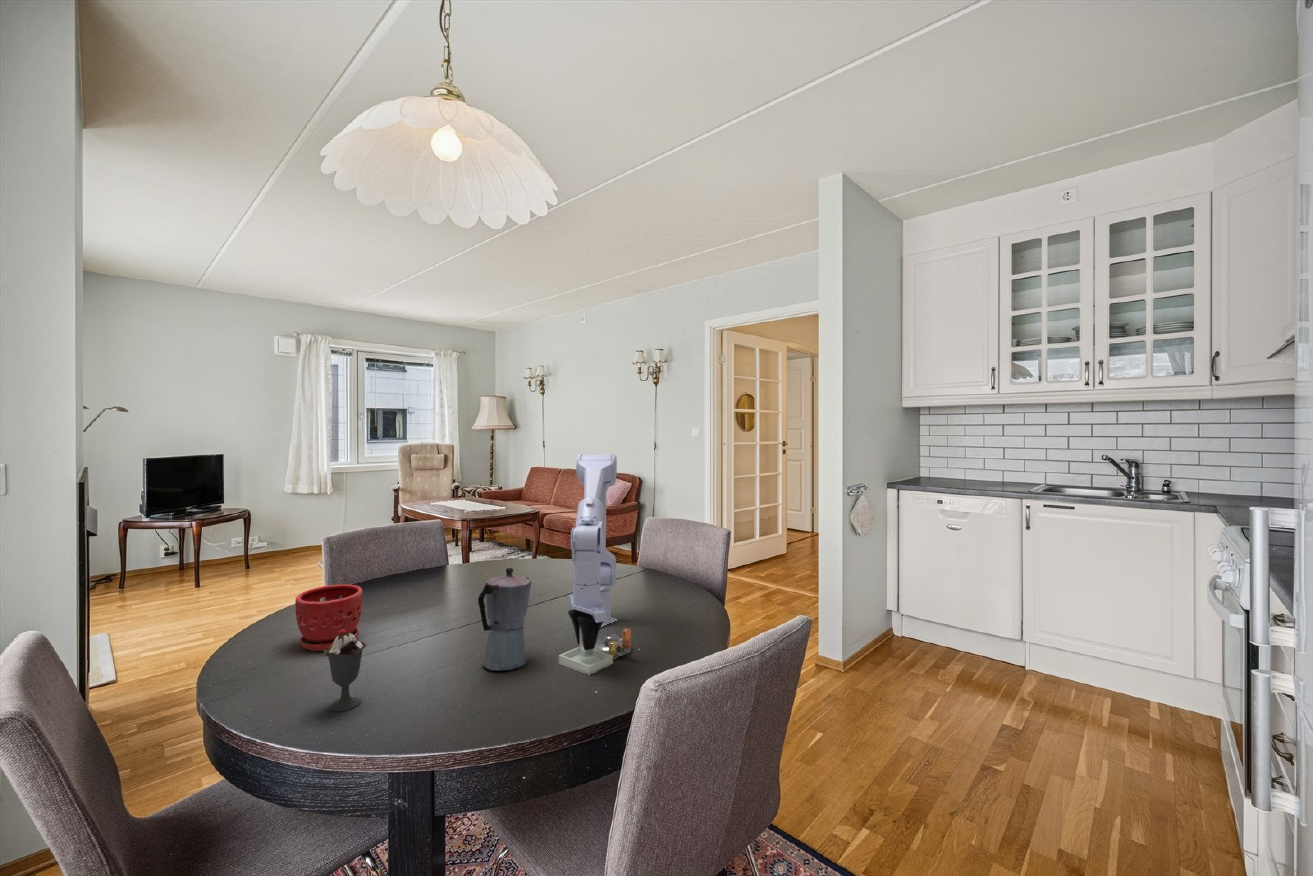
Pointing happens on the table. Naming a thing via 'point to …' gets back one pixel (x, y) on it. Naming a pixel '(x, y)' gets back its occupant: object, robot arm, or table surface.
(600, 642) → the crank base
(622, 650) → the crank
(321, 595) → the plant pot
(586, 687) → the table surface
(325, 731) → the table surface
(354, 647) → the sundae
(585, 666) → the tray
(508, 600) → the moka pot
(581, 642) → the clear glass cylinder
